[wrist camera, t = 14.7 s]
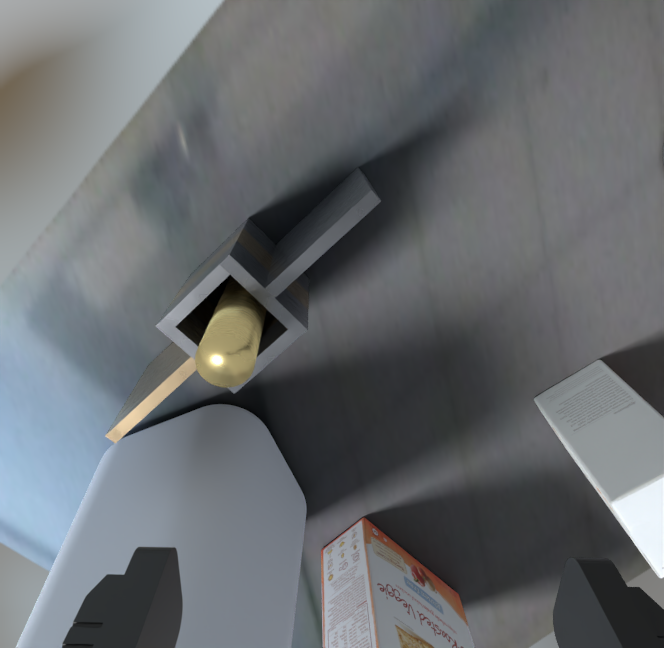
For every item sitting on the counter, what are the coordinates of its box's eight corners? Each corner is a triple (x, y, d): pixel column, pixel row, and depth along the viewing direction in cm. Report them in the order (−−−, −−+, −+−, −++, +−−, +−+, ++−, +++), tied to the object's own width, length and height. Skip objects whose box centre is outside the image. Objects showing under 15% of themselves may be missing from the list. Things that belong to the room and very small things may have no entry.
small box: (640, 423, 47) (753, 537, 35) (573, 460, 48) (660, 583, 36) (600, 355, 44) (707, 453, 32) (530, 396, 45) (608, 506, 33)
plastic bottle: (85, 445, 46) (-208, 899, 20) (248, 382, 44) (155, 792, 18) (173, 568, 51) (33, 1045, 26) (321, 516, 50) (330, 975, 24)
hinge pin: (273, 256, 40) (254, 335, 27) (273, 295, 41) (255, 388, 28) (232, 255, 40) (193, 333, 27) (233, 294, 41) (196, 386, 28)
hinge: (331, 136, 37) (336, 150, 28) (390, 204, 39) (413, 237, 30) (120, 342, 42) (69, 409, 33) (181, 393, 44) (148, 468, 35)
